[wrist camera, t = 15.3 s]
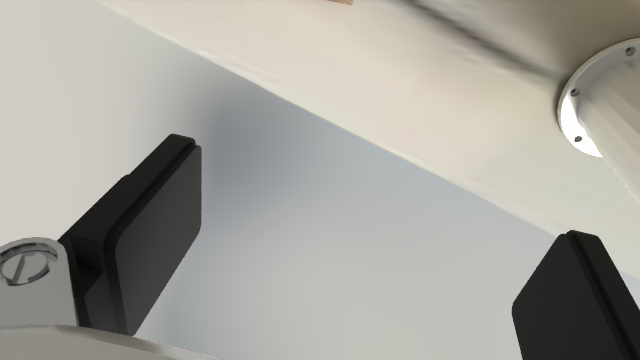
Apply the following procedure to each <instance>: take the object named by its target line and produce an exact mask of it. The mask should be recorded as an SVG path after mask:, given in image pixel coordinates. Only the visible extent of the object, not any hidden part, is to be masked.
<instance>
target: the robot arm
mask: <svg viewBox="0 0 640 360" xmlns="http://www.w3.org/2000/svg"><path fill="white" fill-rule="evenodd" d="M627 48H628V50H626V49H627ZM625 50H626V51H625ZM573 89H574V90H573ZM572 90H573V91H572ZM557 115H558V123H559V125H560V128H561V131H562V132H563V134H564V135H565V137H566V138H567V140H568V141H569V142H570V143H571V144H572V145H573V146H574V147H576V148H577V149H579V150H580V151H582V152H585V153H587V154H590V155H594V156H599V157H602V158H603V159H604V160H605V162H606V163H607V164H608V165H609V167H610V168H611V169H612V171H613V172H614V173H615V175H616V176H617V177H618V178H619V180H620V181H621V182H622V184H623V185H624V186H625V187H626V189H627V190H628V191H629V193H630V194H631V195H632V196H633V198H634V199H635V200H636V202H637V203H638V204H639V206H640V38H635V39H629V40H626V41H623V42H620V43H617V44H614V45H612V46H610V47H608V48H606V49H604V50H602V51H600V52H599V53H597V54H596V55H594V56H593V57H591V58H590V59H588V60H587V61H586V62H585V63H584V64H583V65H582V66H580V67H579V68H578V69H577V70H576V72H575V73H574V74H573V75H572V76H571V78H570V79H569V80H568V82H567V84H566V86H565V87H564V89H563V91H562V94H561V96H560V99H559V103H558V110H557ZM200 227H201V147H200V146H199V145H196V143H195V140H194V139H193V138H189V137H185V136H181V135H177V134H170V135H169V136H168V137H167V138H166V139H165V140H164V141H163V142H162V143H161V144H160V145H159V146H158V147H157V148H156V149H155V150H154V151H153V152H152V153H151V154H150V155H149V156H148V157H147V158H146V159H144V161H142V162H141V163H140V165H138V166H137V167H136V168H135V169H134V170H133V171H132V172H131V173H130V174H129V175H125V176H124V177H122V178H121V179H120V180H119V181H118V182H117V183H116V184H115V185H114V186H113V187H112V188H111V189H110V190H109V191H108V192H107V193H106V194H105V195H104V196H103V197H102V198H100V199H99V200H98V201H97V202H96V203H95V204H94V205H93V207H91V208H90V209H89V210H88V211H87V212H86V213H85V214H84V215H83V216H82V217H81V218H80V219H79V220H78V221H77V222H76V223H75V224H74V225H73V226H72V227H71V228H70V229H69V230H68V231H66V232H65V233H64V234H63V235H62V236H61V237H60V239H58V240H57V241H55V240H52V239H49V238H41V237H32V238H24V239H20V240H17V241H13V242H10V243H8V244H6V245H4V246H2V247H0V360H223V359H218V358H215V357H211V356H208V355H204V354H200V353H196V352H192V351H188V350H184V349H180V348H176V347H172V346H168V345H164V344H160V343H155V342H151V341H147V340H143V339H139V338H135V337H132V336H133V335H134V334H135V333H136V332H137V330H138V329H139V327H140V326H141V324H142V323H143V321H144V319H145V318H146V316H147V315H148V313H149V311H150V309H151V308H152V307H153V305H154V304H155V302H156V300H157V299H158V297H159V296H160V294H161V292H162V291H163V289H164V288H165V286H166V284H167V283H168V281H169V280H170V278H171V277H172V275H173V273H174V272H175V270H176V268H177V267H178V265H179V264H180V262H181V261H182V259H183V258H184V256H185V254H186V253H187V251H188V249H189V248H190V246H191V245H192V243H193V242H194V240H195V239H196V237H197V235H198V233H199V230H200ZM512 317H513V321H514V325H515V329H516V333H517V338H518V342H519V346H520V350H521V354H522V358H523V360H640V310H639V308H638V306H637V305H636V303H635V301H634V299H633V297H632V296H631V294H630V292H629V290H628V288H627V287H626V285H625V283H624V281H623V279H622V278H621V276H620V274H619V272H618V270H617V269H616V267H615V265H614V263H613V261H612V260H611V258H610V256H609V254H608V252H607V251H606V249H605V247H604V245H603V243H602V242H601V240H600V239H599V237H598V236H595V235H592V234H588V233H583V232H579V231H575V230H570V231H569V232H567V233H566V234H560V235H559V236H558V237H557V238H556V240H555V242H554V243H553V244H552V246H551V247H550V249H549V250H548V252H547V254H546V255H545V256H544V258H543V259H542V261H541V262H540V264H539V265H538V267H537V268H536V270H535V271H534V273H533V274H532V276H531V277H530V279H529V280H528V281H527V283H526V284H525V286H524V287H523V289H522V290H521V292H520V293H519V295H518V296H517V298H516V299H515V301H514V303H513V306H512Z"/></svg>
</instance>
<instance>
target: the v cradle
mask: <svg viewBox="0 0 640 360" xmlns="http://www.w3.org/2000/svg"><path fill="white" fill-rule="evenodd" d="M328 1H333V2H338V3H343V4H349V5H352V3H353V0H328Z"/></svg>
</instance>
